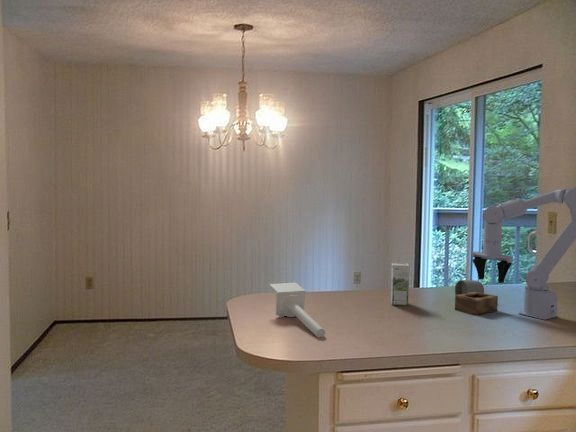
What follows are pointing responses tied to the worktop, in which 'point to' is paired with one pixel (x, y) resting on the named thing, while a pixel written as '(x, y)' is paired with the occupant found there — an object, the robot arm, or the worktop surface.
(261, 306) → the worktop surface
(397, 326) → the worktop surface
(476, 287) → the ceramic mug
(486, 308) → the walnut box
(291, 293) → the white block with rod
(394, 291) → the syrup box
